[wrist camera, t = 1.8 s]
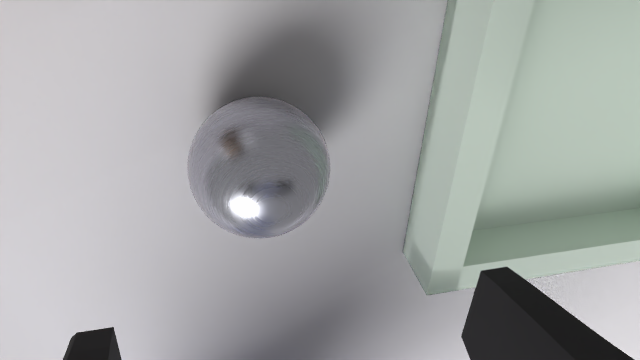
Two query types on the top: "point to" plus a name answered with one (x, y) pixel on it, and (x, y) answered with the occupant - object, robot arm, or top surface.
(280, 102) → the ball
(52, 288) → the top surface
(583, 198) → the tray
